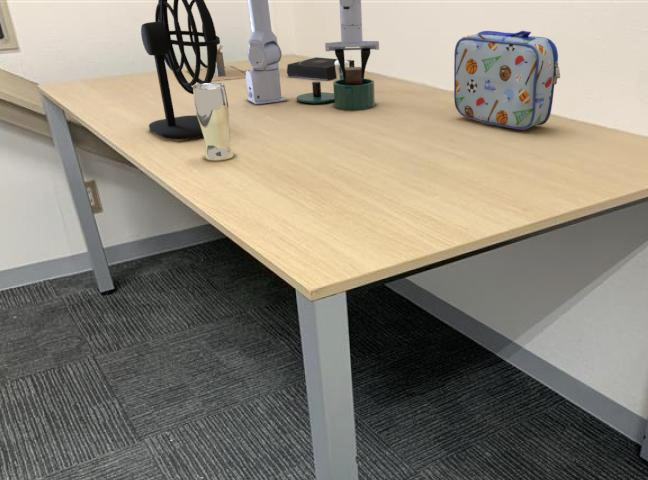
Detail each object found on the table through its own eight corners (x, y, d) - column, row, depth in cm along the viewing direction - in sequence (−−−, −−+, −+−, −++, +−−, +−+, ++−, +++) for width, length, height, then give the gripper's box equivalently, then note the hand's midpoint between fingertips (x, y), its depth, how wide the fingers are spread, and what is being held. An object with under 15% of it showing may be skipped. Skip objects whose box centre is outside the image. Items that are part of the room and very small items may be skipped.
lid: (291, 104, 192) (289, 85, 190) (304, 95, 202) (302, 77, 200) (331, 105, 190) (330, 86, 188) (342, 96, 200) (341, 78, 198)
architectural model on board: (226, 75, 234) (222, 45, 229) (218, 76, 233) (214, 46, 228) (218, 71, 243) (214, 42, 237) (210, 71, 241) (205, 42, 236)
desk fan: (246, 135, 163) (226, -28, 145) (177, 148, 155) (146, -24, 136) (202, 115, 182) (179, -31, 164) (138, 126, 173) (106, -28, 155)
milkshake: (352, 92, 205) (350, 57, 200) (335, 92, 206) (333, 57, 201) (353, 89, 209) (352, 54, 204) (337, 89, 210) (335, 55, 205)
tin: (327, 111, 183) (326, 87, 180) (342, 99, 197) (341, 76, 194) (367, 112, 181) (366, 88, 178) (380, 99, 195) (379, 76, 192)
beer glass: (221, 150, 152) (211, 81, 144) (241, 155, 148) (232, 84, 140) (196, 157, 147) (184, 86, 140) (216, 163, 143) (205, 90, 136)
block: (346, 85, 184) (345, 70, 182) (345, 82, 188) (345, 67, 186) (362, 84, 184) (361, 69, 182) (361, 81, 188) (360, 66, 186)
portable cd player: (315, 69, 242) (314, 57, 240) (354, 72, 234) (354, 60, 232) (287, 76, 230) (286, 64, 228) (327, 80, 222) (326, 67, 220)
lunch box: (560, 128, 163) (572, 29, 151) (536, 137, 157) (545, 34, 145) (472, 111, 180) (476, 22, 168) (447, 118, 174) (449, 26, 162)
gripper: (324, 27, 175) (327, 81, 182) (379, 25, 175) (380, 80, 182) (324, 24, 181) (327, 77, 188) (377, 22, 181) (378, 75, 188)
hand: (353, 78), depth 185 cm, fingers closed on block, 4 cm apart
